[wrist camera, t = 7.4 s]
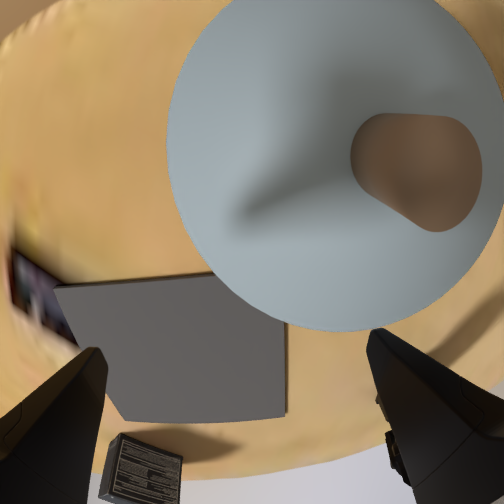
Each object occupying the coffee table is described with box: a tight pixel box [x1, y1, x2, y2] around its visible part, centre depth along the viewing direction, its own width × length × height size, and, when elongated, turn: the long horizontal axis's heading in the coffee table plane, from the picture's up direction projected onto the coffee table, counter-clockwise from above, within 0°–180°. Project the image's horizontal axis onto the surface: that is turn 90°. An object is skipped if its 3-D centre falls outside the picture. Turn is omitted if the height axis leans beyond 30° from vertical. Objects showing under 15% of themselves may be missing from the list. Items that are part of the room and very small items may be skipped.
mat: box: [53, 273, 285, 423], centre depth 26 cm, size 20×20×1 cm
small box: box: [98, 434, 183, 504], centre depth 30 cm, size 11×6×10 cm, turn 52°
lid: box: [166, 0, 504, 332], centre depth 10 cm, size 19×19×5 cm
